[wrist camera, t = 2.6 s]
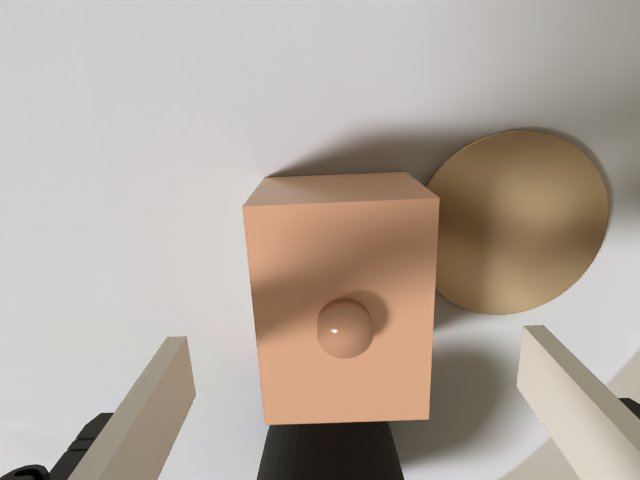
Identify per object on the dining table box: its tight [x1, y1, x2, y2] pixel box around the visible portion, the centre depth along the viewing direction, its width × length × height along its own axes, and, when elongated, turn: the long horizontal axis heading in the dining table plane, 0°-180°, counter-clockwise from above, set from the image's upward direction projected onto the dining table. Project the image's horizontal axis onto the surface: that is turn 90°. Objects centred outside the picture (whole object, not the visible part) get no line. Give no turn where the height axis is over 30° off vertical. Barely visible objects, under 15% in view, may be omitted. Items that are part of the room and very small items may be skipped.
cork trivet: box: [426, 130, 608, 315], centre depth 24 cm, size 11×11×1 cm
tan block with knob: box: [242, 172, 440, 425], centre depth 21 cm, size 11×8×8 cm
